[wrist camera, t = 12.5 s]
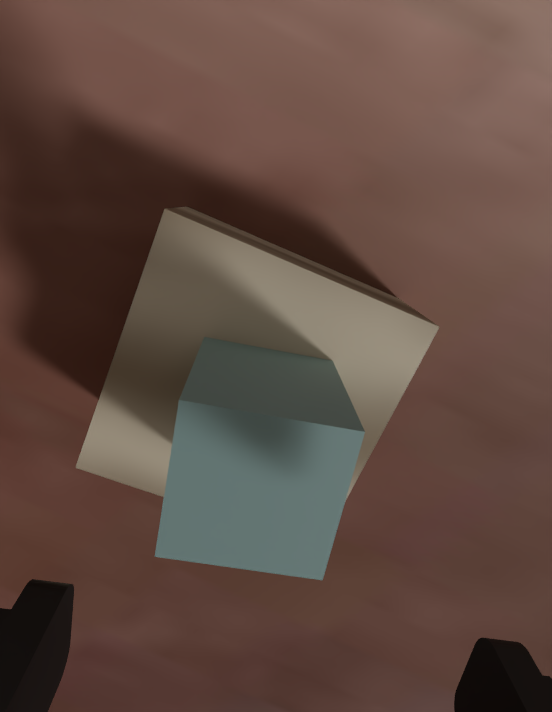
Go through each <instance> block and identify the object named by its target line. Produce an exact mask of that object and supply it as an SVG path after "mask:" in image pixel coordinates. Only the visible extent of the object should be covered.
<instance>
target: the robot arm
mask: <svg viewBox="0 0 552 712" xmlns="http://www.w3.org/2000/svg"><path fill="white" fill-rule="evenodd" d="M73 598H74V586H73V584H66V583H59V582H51V581H43V580H35V579H32V580H30V581H29V582H28V584H27V585H26V586H25V588H24V589H23V591H22V593H21V594H20V596H19V598H18V599H17V601H16V603H15V604H14V606H13V607H12V609H2V608H0V712H48V710H49V707H50V705H51V702H52V700H53V698H54V695H55V693H56V691H57V688H58V686H59V683H60V681H61V678H62V675H63V672H64V669H65V665H66V662H67V658H68V653H69V648H70V639H71V625H72V611H73ZM454 709H455V712H552V679H551V678H550V677H549V676H542V674H541V672H540V671H539V669H538V667H537V666H536V664H535V662H534V660H533V659H532V657H531V655H530V654H529V652H528V650H527V649H526V648H525V647H524V646H523V645H522V644H521V643H519V642H513V641H505V640H497V639H489V638H480V639H478V641H477V642H476V644H475V646H474V648H473V651H472V653H471V655H470V658H469V660H468V663H467V665H466V668H465V670H464V672H463V675H462V677H461V680H460V682H459V685H458V687H457V690H456V693H455V700H454Z"/></svg>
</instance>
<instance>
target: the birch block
mask: <svg viewBox="0 0 552 712" xmlns="http://www.w3.org/2000/svg"><path fill="white" fill-rule="evenodd" d="M438 329H439V326H438V325H436V324H435V323H433V322H432V321H430V320H429V319H427V318H426V317H425V316H423V315H422V314H420V313H419V312H417V311H416V310H415V309H413V308H412V307H410V306H409V305H407V304H406V303H404V302H403V301H402V300H400V299H399V298H397V297H394V296H392V295H390V294H387V293H385V292H383V291H381V290H378V289H376V288H374V287H371V286H369V285H367V284H364V283H362V282H360V281H358V280H355V279H353V278H351V277H348V276H346V275H344V274H341V273H339V272H337V271H335V270H332V269H330V268H328V267H325V266H323V265H321V264H318V263H316V262H314V261H312V260H309V259H307V258H305V257H302V256H300V255H298V254H295V253H293V252H291V251H289V250H286V249H284V248H282V247H279V246H277V245H275V244H272V243H270V242H268V241H265V240H263V239H261V238H259V237H256V236H254V235H252V234H249V233H247V232H245V231H242V230H240V229H238V228H236V227H233V226H231V225H229V224H226V223H224V222H222V221H219V220H217V219H215V218H213V217H210V216H208V215H206V214H203V213H201V212H199V211H196V210H194V209H192V208H190V207H177V208H165V209H164V212H163V215H162V218H161V221H160V223H159V226H158V229H157V232H156V235H155V238H154V241H153V244H152V247H151V250H150V253H149V255H148V258H147V261H146V264H145V267H144V270H143V273H142V276H141V279H140V282H139V284H138V287H137V290H136V293H135V296H134V299H133V302H132V305H131V308H130V311H129V314H128V316H127V319H126V322H125V325H124V328H123V331H122V334H121V337H120V340H119V343H118V346H117V348H116V351H115V354H114V357H113V360H112V363H111V366H110V369H109V372H108V375H107V378H106V380H105V383H104V386H103V389H102V392H101V395H100V398H99V401H98V404H97V407H96V410H95V412H94V415H93V418H92V421H91V424H90V427H89V430H88V433H87V436H86V439H85V442H84V444H83V447H82V450H81V453H80V456H79V459H78V462H77V465H76V468H78V469H81V470H84V471H87V472H90V473H93V474H96V475H99V476H102V477H105V478H108V479H111V480H114V481H117V482H120V483H123V484H126V485H129V486H132V487H135V488H138V489H141V490H144V491H147V492H150V493H153V494H156V495H159V496H162V497H164V494H165V487H166V481H167V474H168V468H169V461H170V455H171V448H172V442H173V436H174V429H175V423H176V416H177V410H178V403H179V399H180V396H181V394H182V391H183V389H184V386H185V384H186V381H187V379H188V376H189V374H190V371H191V369H192V366H193V364H194V361H195V359H196V356H197V354H198V351H199V349H200V346H201V344H202V341H203V339H204V337H208V338H213V339H218V340H224V341H229V342H235V343H240V344H245V345H251V346H256V347H262V348H267V349H272V350H278V351H283V352H289V353H294V354H299V355H305V356H310V357H316V358H321V359H326V360H332V361H333V363H334V365H335V367H336V369H337V371H338V374H339V376H340V378H341V380H342V382H343V384H344V387H345V389H346V391H347V393H348V395H349V398H350V400H351V402H352V404H353V406H354V409H355V411H356V413H357V415H358V417H359V420H360V422H361V424H362V426H363V428H364V431H365V434H364V438H363V441H362V444H361V448H360V451H359V455H358V458H357V462H356V465H355V469H354V472H353V476H352V479H351V483H350V486H349V490H348V493H347V497H348V495H349V493H350V491H351V490H352V488H353V486H354V484H355V482H356V480H357V478H358V477H359V475H360V473H361V471H362V469H363V467H364V466H365V464H366V462H367V460H368V458H369V456H370V454H371V453H372V451H373V449H374V447H375V445H376V443H377V442H378V440H379V438H380V436H381V434H382V432H383V430H384V429H385V427H386V425H387V423H388V421H389V419H390V417H391V416H392V414H393V412H394V410H395V408H396V406H397V405H398V403H399V401H400V399H401V397H402V395H403V393H404V392H405V390H406V388H407V386H408V384H409V382H410V381H411V379H412V377H413V375H414V373H415V371H416V369H417V368H418V366H419V364H420V362H421V360H422V358H423V356H424V355H425V353H426V351H427V349H428V347H429V345H430V344H431V342H432V340H433V338H434V336H435V334H436V332H437V331H438ZM347 497H346V499H347ZM345 501H346V500H345Z"/></svg>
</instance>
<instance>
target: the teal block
mask: <svg viewBox="0 0 552 712" xmlns="http://www.w3.org/2000/svg"><path fill="white" fill-rule="evenodd" d="M364 434H365V431H364V428H363V426H362V424H361V422H360V420H359V417H358V415H357V413H356V411H355V409H354V406H353V404H352V402H351V400H350V398H349V395H348V393H347V391H346V389H345V387H344V384H343V382H342V380H341V378H340V376H339V374H338V371H337V369H336V367H335V365H334V363H333V361H332V360H326V359H321V358H316V357H310V356H305V355H299V354H294V353H289V352H283V351H278V350H272V349H267V348H262V347H256V346H251V345H245V344H240V343H235V342H229V341H224V340H218V339H213V338H208V337H204V339H203V341H202V344H201V346H200V349H199V351H198V354H197V356H196V359H195V361H194V364H193V366H192V369H191V371H190V374H189V376H188V379H187V381H186V384H185V386H184V389H183V391H182V394H181V396H180V399H179V403H178V410H177V416H176V423H175V429H174V436H173V442H172V448H171V455H170V461H169V468H168V474H167V481H166V487H165V494H164V500H163V507H162V513H161V520H160V526H159V533H158V539H157V546H156V552H155V557H161V558H168V559H176V560H183V561H190V562H197V563H204V564H211V565H218V566H225V567H232V568H239V569H246V570H253V571H261V572H268V573H275V574H282V575H289V576H296V577H303V578H310V579H317V580H323V577H324V573H325V570H326V566H327V563H328V559H329V556H330V552H331V549H332V545H333V542H334V538H335V535H336V531H337V528H338V524H339V521H340V518H341V514H342V511H343V507H344V504H345V500H346V497H347V493H348V490H349V486H350V483H351V479H352V476H353V472H354V469H355V465H356V462H357V458H358V455H359V451H360V448H361V444H362V441H363V438H364Z"/></svg>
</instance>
